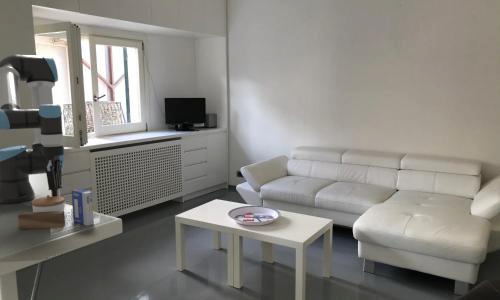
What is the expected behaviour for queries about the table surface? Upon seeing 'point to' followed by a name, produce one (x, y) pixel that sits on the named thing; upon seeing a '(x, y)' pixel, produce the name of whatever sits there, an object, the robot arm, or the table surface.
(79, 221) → the walkman
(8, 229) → the table surface
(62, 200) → the lidded jar
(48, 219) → the bar
